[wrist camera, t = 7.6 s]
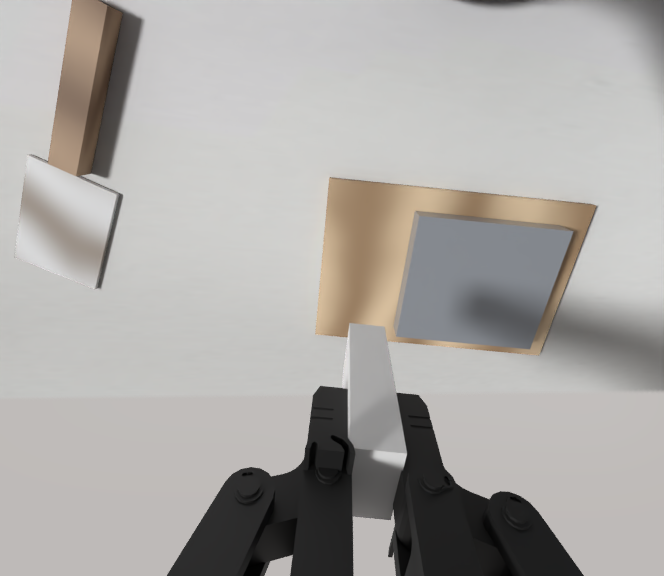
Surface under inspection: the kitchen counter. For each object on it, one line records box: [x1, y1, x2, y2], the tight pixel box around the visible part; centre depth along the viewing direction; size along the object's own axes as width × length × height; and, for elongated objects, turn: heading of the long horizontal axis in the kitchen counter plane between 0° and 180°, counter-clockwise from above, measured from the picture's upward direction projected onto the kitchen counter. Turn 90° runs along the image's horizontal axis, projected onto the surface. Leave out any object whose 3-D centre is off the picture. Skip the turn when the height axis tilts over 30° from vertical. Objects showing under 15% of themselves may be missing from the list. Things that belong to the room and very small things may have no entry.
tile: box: [393, 211, 574, 349], centre depth 26 cm, size 2×9×10 cm
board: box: [315, 177, 596, 355], centre depth 27 cm, size 18×12×1 cm, turn 85°
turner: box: [14, 0, 123, 289], centre depth 24 cm, size 18×6×2 cm, turn 155°
